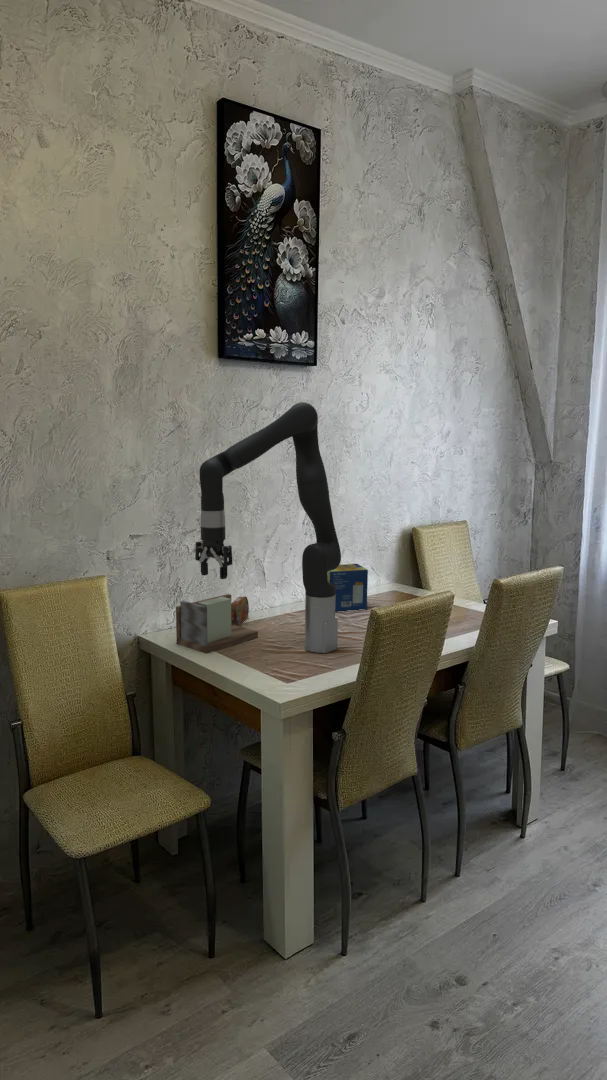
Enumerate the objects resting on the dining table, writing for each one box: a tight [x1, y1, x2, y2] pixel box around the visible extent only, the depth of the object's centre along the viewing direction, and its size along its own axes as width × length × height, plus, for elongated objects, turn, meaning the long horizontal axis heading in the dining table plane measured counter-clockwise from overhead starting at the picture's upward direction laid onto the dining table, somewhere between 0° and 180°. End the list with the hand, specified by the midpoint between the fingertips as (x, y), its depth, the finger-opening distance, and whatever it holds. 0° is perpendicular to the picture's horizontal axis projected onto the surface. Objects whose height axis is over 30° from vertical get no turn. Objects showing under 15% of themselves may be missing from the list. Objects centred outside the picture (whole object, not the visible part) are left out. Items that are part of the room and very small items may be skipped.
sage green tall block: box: [198, 597, 232, 643], centre depth 234 cm, size 4×10×12 cm, turn 139°
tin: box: [231, 596, 250, 627], centre depth 259 cm, size 15×3×8 cm, turn 168°
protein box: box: [327, 563, 369, 612], centre depth 278 cm, size 10×15×16 cm
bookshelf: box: [175, 593, 259, 654], centre depth 238 cm, size 14×22×14 cm, turn 138°
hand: (213, 576), depth 231 cm, fingers open, 8 cm apart
